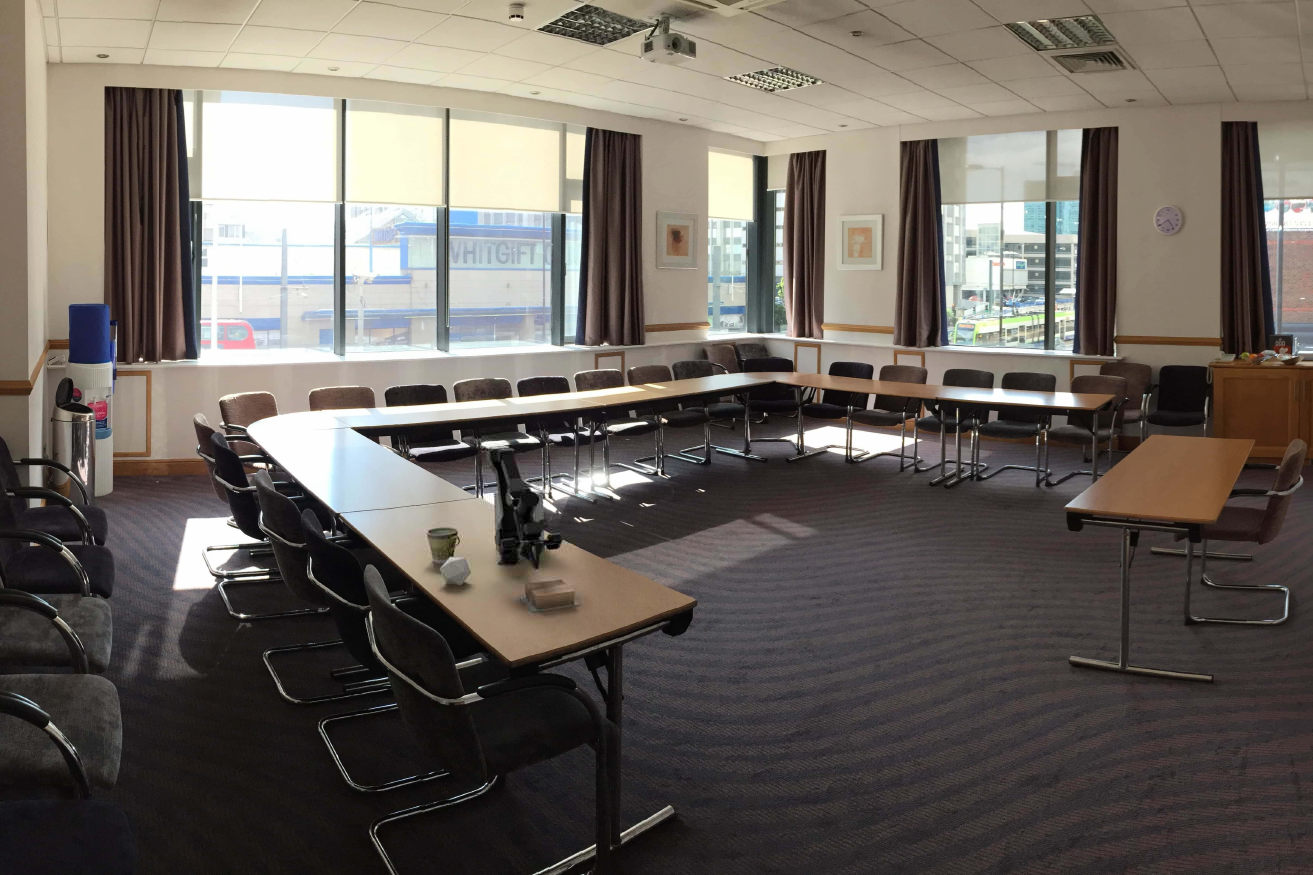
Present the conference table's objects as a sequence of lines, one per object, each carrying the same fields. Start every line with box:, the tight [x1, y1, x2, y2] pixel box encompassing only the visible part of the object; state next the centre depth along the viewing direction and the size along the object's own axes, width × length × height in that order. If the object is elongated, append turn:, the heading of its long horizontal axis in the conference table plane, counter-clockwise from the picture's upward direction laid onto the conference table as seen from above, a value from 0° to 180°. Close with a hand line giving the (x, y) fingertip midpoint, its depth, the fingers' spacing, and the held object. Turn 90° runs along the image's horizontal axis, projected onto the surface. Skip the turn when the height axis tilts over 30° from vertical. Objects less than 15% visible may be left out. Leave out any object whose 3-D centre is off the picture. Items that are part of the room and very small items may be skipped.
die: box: [439, 556, 472, 586], centre depth 285 cm, size 8×9×10 cm
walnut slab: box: [524, 578, 575, 610], centre depth 269 cm, size 4×11×12 cm
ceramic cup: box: [426, 526, 461, 564], centre depth 308 cm, size 13×10×10 cm
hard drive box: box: [493, 490, 545, 552], centre depth 323 cm, size 16×8×20 cm, turn 74°
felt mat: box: [519, 597, 581, 613], centre depth 269 cm, size 12×14×1 cm
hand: (537, 568), depth 279 cm, fingers closed
